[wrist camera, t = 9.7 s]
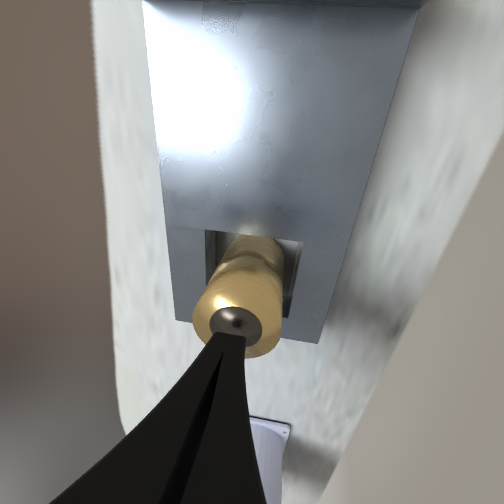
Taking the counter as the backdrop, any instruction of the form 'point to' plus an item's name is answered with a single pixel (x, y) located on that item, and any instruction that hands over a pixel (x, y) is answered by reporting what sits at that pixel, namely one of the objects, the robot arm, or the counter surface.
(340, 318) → the counter surface
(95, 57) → the counter surface
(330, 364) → the counter surface
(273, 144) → the plate
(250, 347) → the bushing
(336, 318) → the counter surface
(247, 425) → the robot arm
